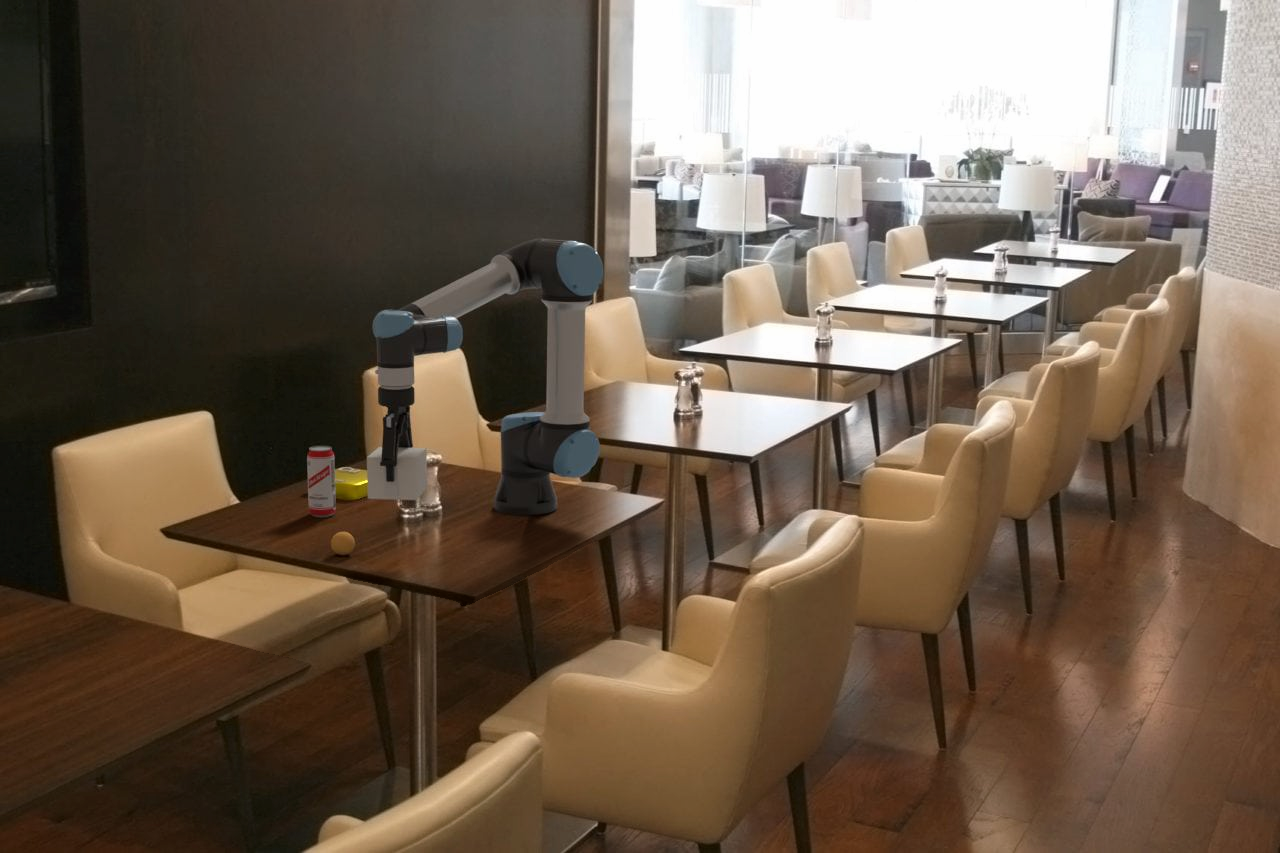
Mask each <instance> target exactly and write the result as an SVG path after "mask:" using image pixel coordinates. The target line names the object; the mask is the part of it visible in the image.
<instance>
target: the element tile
mask: <svg viewBox="0 0 1280 853" xmlns="http://www.w3.org/2000/svg"><path fill="white" fill-rule="evenodd" d="M335 496H336V499H338V500H344V501H358V500H357V499H359V500H361V499H360V498H362V499H364V498H363V497H365V498H366V496H367V497H368V487H367V469H359V468H353V467H348V466H345V467H344V466H342V467H339V468H335Z"/></svg>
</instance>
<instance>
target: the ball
mask: <svg viewBox="0 0 1280 853" xmlns="http://www.w3.org/2000/svg"><path fill="white" fill-rule="evenodd" d="M355 545H356V541H355V538H354V537H353V535H352V534H350V533H349V532H347V531H338V532H337V533H335V534H334V535H333V536H332V538H331V541H330V546H331V549H332V551H333V552H334V553H335V554H337V555H339V556H346V555H349V554H351V553H352V552H353V550H354V549H355Z"/></svg>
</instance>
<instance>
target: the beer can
mask: <svg viewBox="0 0 1280 853" xmlns="http://www.w3.org/2000/svg"><path fill="white" fill-rule="evenodd" d="M308 449H309V450H308V451H309V452H308V453H307V457H306V463H307V464H306V465H307V500H308V501H307V502H308V513H309V514H310V515H311V516H312V517H313V516H314V517H313V518H329V516H330V517H332V516H333V515H334V514H336V511H337V504H336V503H337V502H336V499H337V498H336V496H335V469H336V467H335V462H336V461H335V453H334V451H333V450H332V449H333V448H332V446H329V445H315V446H314V445H313V446H311V447H309V448H308Z"/></svg>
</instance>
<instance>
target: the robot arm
mask: <svg viewBox="0 0 1280 853" xmlns="http://www.w3.org/2000/svg"><path fill="white" fill-rule="evenodd" d="M603 279H604V265H603V262H602V259H601V257H600V255H599V253H598V252H597V251H596V250H595V248H594V247H592V246H591V245H589V244H587V243H583V242H579V241H576V240H564V239H563V240H562V239H550V238H542V237H541V238H534V239H532V240H528V241H525V242H522V243H520V244H518V245H515V246H513V247H511V248H509V249H506V250H504V251H503V252H501V253H498V254H496V255H495V256H492V259H491V260H490V263H488V264H487V265H485V266H483V267H481V268H479V269H477V270H475V271H473V272H470V273H469V274H467V275H465V276H463V277H461V278H459V279H456V280H455V281H453V282H451V283H450V284H446V286H443V287H440V288H439V289H437V290H434V291H433V292H431V293H429V294H427V295H425V296H423V297H421V298H419V299H418V300H415V301H414V302H411V303H409V304H407V305H404V306H403V307H401V308H398V309H396V310H395V309H392V308H391V309H384V310H381V311H379V312H378V313H377V314H376V315H375V316H374V319H373V320H372V321H373V322H372V332H373V335H374V337H375V338H376V361H377V362H376V363H377V369H376V370H375V371H374V373H375V374H376V375H377V384H378V385H379V387H378V388H377V402H378V405H379V406H381V407H385V408H387V412H386V414H385V416H383V418H382V444H381V447H382V460H381V462H380V466H384V475H385V496H391V497H398V496H399V488H398V465H397V455H398V447H402V448H414V447H413V446H414V444H413V436H412V435H413V434H412V427H411V426H412V424H411V406H412V405H414V404H415V388H414V386H413V385H414V384H415V356H421V355H422V356H423V355H430V354H439V353H443V354H445V353H448V352H452V351H456V350H458V349H459V348H460V347H461V345H462V343H463V338H464V337H463V332H464V331H463V327H462V324H461V323H460V321H459V320H458V318H460V317H462V316H464V315H465V314H467V313H470V312H472V311H473V310H476V309H477V308H480V307H482V306H484V305H485V304H487V303H489V302H491V301H493V300H495V299H497V298H499V297H501V296H503V295H504V294H507V295H514V294H516V293H519V292H521V291H523V290H531V289H535V290H536V289H539V290H540V291H541V292H540V295H541V298H540V301H541V302H542V303H543V304H544V305H545V307H546V308H547V331H546V332H547V334H546V337H547V339H546V340H547V341H546V342H547V344H546V350H547V351H546V404H545V405H546V407H545V408H546V409H545V411H530V412H529V411H527V412H519V413H512V414H508V415H505V416H504V417H503V418H502V420H501V423H500V424H501V428H500V459H501V460H500V462H501V463H500V468H501V469H500V470H501V472H500V474H501V475H500V479H499V483H498V485H497V489H496V492H495V495H494V498H493V508H494V510H495V511H497V512H500V513H501V514H507V515H514V516H515V515H516V516H536V515H537V516H538V515H543V514H548V513H552V512H554V511H555V510H557V509H558V497H557V495H556V491H555V488H554V485H553V481H552V479H551V474H554V475H555V476H556V475H557V476H559V477H561V478H570V479H579V478H581V477H583V476H585V475H587V474H588V473H589V472H591V469H592V468H593V467H594V466H595V465H596V463H597V461H598V458H599V455H600V449H601V448H600V447H601V446H600V440H599V438H598V436H596V434H595V433H594V432H593V431H592V430H590V429H591V428H590V426H591V420H590V417H589V416H588V415H587V414H586V413H585V410H584V406H585V404H584V403H585V402H584V400H585V396H584V394H585V357H586V355H585V348H586V347H585V346H586V343H585V342H586V340H585V339H586V308H587V307H588V306H589V305H590V304H591V303H593V294H594V293H596V292H597V291H598V290H599V289H600V287H599V286H600V285H602V283H603ZM388 458H390V459H388Z"/></svg>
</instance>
